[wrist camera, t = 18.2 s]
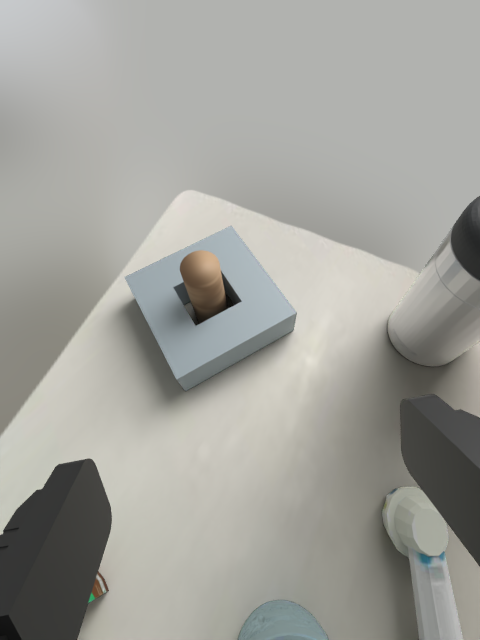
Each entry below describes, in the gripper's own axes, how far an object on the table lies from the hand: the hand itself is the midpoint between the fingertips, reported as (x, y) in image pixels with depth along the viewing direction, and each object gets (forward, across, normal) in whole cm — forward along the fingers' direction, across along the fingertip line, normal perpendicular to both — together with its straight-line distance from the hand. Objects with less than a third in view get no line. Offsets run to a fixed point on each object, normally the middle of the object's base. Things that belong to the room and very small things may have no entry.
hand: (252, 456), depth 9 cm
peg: (+39, +2, +7) cm, 40 cm away
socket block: (+39, +2, +7) cm, 40 cm away
